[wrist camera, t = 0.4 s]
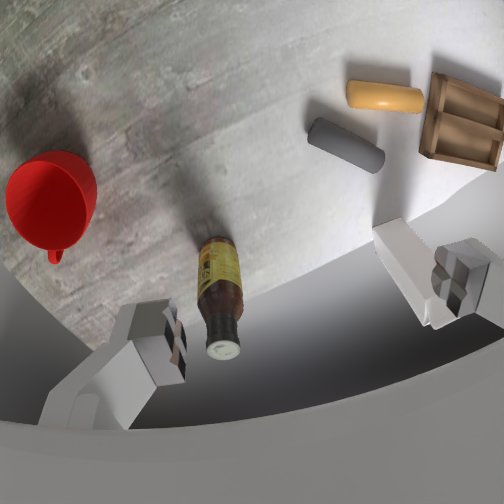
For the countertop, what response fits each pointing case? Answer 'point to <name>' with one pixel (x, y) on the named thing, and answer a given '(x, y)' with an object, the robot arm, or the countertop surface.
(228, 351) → the sauce bottle
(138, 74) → the countertop surface
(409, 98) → the orange rod
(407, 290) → the milk
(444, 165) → the countertop surface
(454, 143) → the slot rack
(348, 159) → the charcoal rod
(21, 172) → the ceramic cup
